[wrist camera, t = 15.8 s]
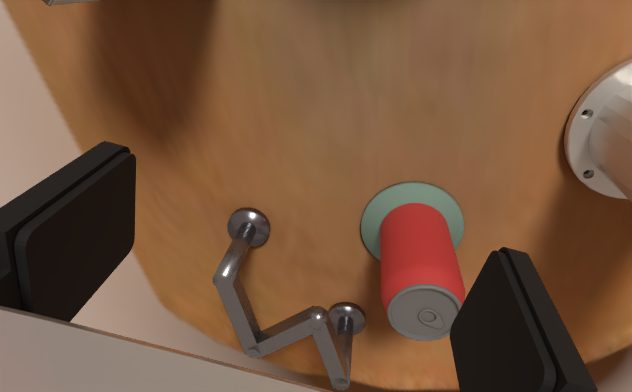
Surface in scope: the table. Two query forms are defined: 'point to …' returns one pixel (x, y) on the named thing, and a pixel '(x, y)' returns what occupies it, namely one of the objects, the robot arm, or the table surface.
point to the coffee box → (64, 1)
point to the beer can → (419, 272)
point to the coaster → (405, 195)
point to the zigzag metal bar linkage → (322, 324)
